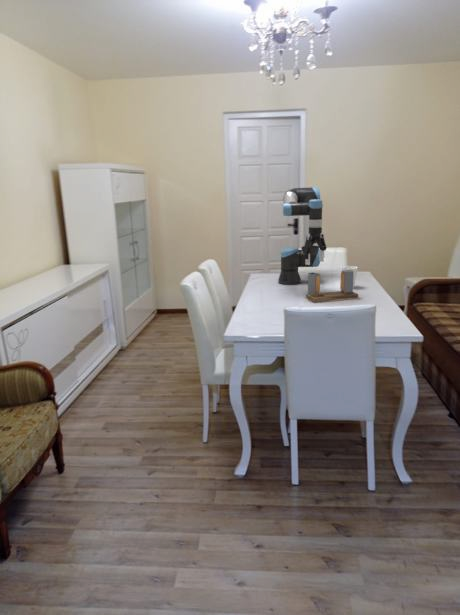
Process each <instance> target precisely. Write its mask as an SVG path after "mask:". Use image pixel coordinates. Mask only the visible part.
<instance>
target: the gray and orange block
mask: <svg viewBox="0 0 460 615" xmlns="http://www.w3.org/2000/svg"><path fill="white" fill-rule="evenodd" d="M320 289H321V273H318V272H309V273H308V274H307V294H316V293H321V292H320V291H321V290H320Z"/></svg>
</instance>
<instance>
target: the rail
mask: <svg viewBox="0 0 460 615" xmlns="http://www.w3.org/2000/svg"><path fill="white" fill-rule="evenodd" d="M305 299H306V300H308V302H309V301H310V302H311V303H313V304H315V303H316V304H317V303H326V302H334V300H337V301H344V300H346V299H347V300H355V299H359V293H357V292H354V291H353V293H350V294H343V293H341V290H338V291H328V292H326V291H325V292H319V293H316V294H308V293H307V294H306V295H305ZM347 300H346V301H347Z"/></svg>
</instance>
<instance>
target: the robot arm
mask: <svg viewBox="0 0 460 615" xmlns="http://www.w3.org/2000/svg"><path fill="white" fill-rule="evenodd" d="M282 202H283V205H282V215H283V216H284V217H295V216H296V217H297V216H300V217H301V216H302V218H303V219H302V223H303V225H302V226H303V227H302V228H303V232H302V233H303V244H302V246H301V249H299V247H296V246H294V247H287V248H284V249H282V250H281V251H280V273H279V276H278V279H277V280H278V281H277V283H278V284H279V285H280V284H281V285H285V286H289V285H298V284H301V281H302V280H301V276H300V273H299V268H316V267H319V266H320V264H321V262H324V260H325V252H326V249H327V248H328V247H327V245H326V240H325V236H324V234H325V233H324V234H323V233H322V232H323V227H322V226H323V206H324V205H323V200H322V198H321V194H320V190H319V188H318V187H313V186H311V187H295V188H290V189H289V190H287V191H286V192H285V193H284V195H283V196H282Z"/></svg>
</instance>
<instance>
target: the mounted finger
mask: <svg viewBox="0 0 460 615" xmlns="http://www.w3.org/2000/svg"><path fill="white" fill-rule="evenodd" d="M353 274H354V271H351V270H345V271H342V270H341V272H340V287H339V288H340V291H341V293H343V294H350V293H353V292H354V288H353Z"/></svg>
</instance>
